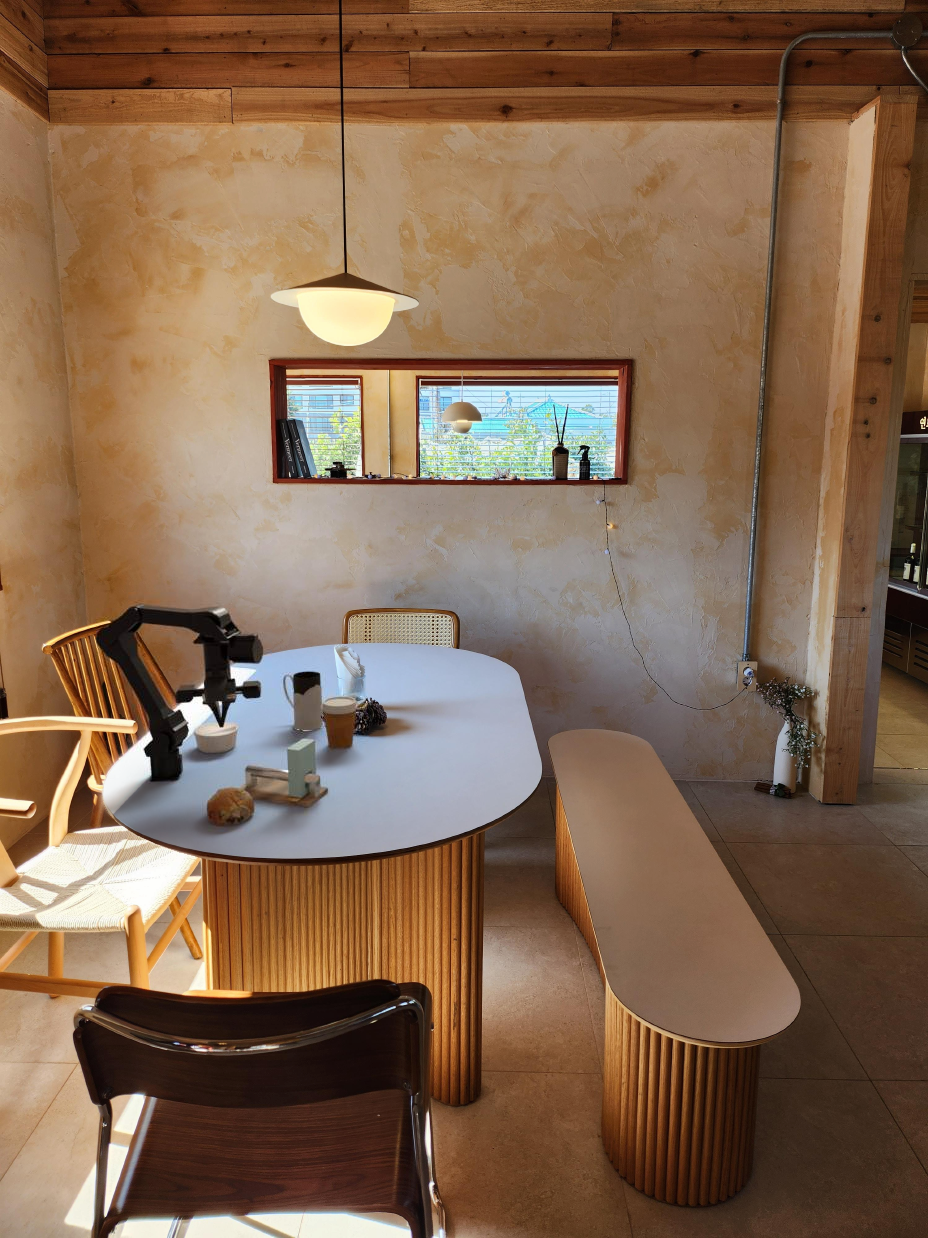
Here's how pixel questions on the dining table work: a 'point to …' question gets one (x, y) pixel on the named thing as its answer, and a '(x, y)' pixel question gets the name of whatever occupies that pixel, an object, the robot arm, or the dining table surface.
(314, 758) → the sage green slotted block
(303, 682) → the black and white mug
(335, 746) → the disposable coffee cup
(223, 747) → the ramekin
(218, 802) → the bread roll
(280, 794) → the walnut board
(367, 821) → the dining table surface
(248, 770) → the grey metal pipe
